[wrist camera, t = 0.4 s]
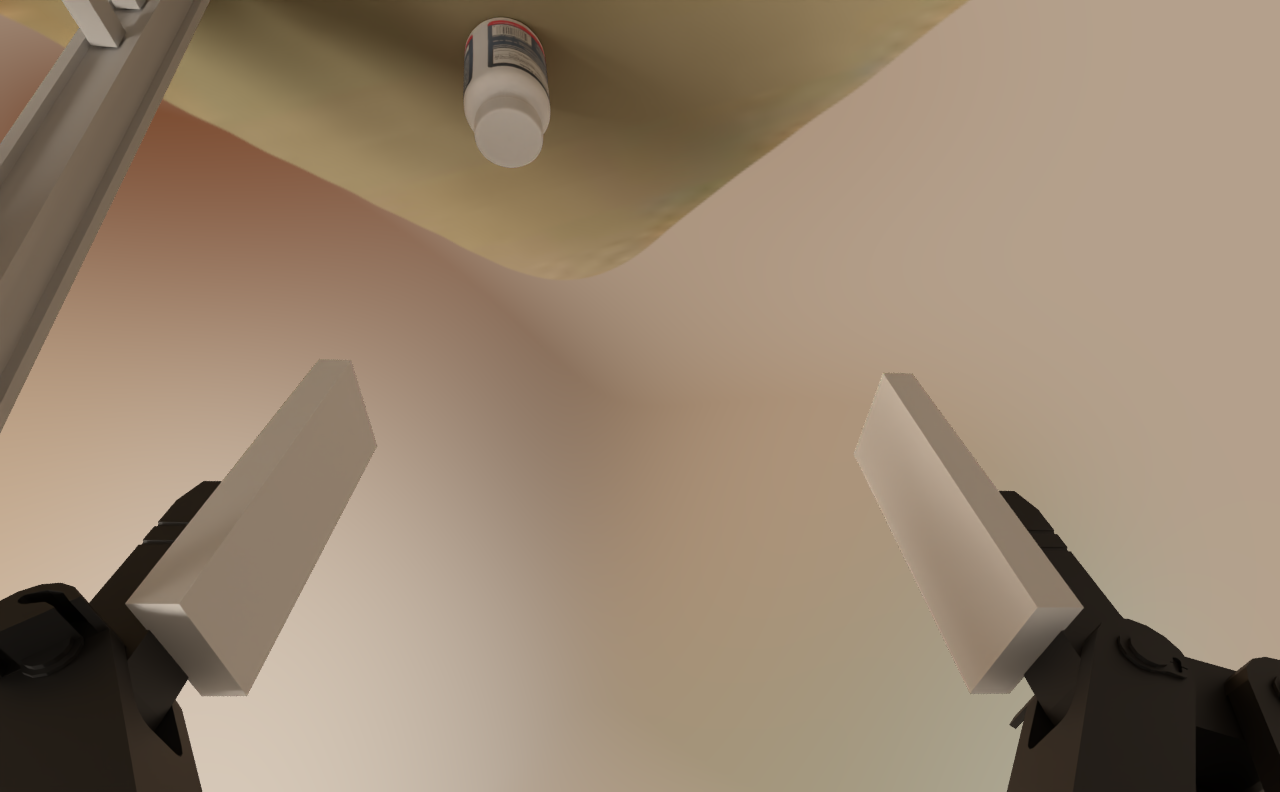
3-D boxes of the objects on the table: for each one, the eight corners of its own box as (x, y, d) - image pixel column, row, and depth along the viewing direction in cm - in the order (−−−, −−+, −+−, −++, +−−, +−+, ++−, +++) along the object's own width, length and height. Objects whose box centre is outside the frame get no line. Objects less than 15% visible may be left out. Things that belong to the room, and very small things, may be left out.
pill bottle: (500, 108, 41) (501, 191, 37) (447, 44, 37) (441, 129, 33) (561, 69, 39) (570, 152, 35) (513, -3, 35) (516, 80, 31)
